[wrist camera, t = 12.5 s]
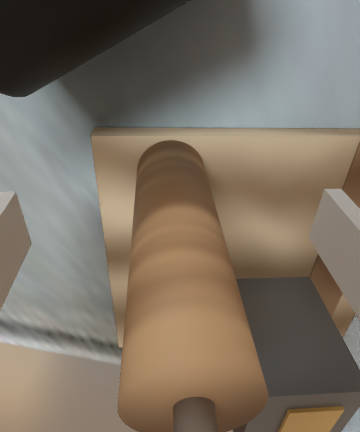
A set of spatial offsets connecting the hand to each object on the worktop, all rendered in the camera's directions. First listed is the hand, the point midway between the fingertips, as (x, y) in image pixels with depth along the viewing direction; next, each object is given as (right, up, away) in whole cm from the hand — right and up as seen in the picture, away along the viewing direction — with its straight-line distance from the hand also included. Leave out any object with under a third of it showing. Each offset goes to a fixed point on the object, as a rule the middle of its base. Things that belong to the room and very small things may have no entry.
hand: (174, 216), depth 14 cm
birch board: (+5, -3, +9) cm, 10 cm away
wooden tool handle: (0, +2, +3) cm, 4 cm away
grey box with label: (+6, -7, +11) cm, 14 cm away
